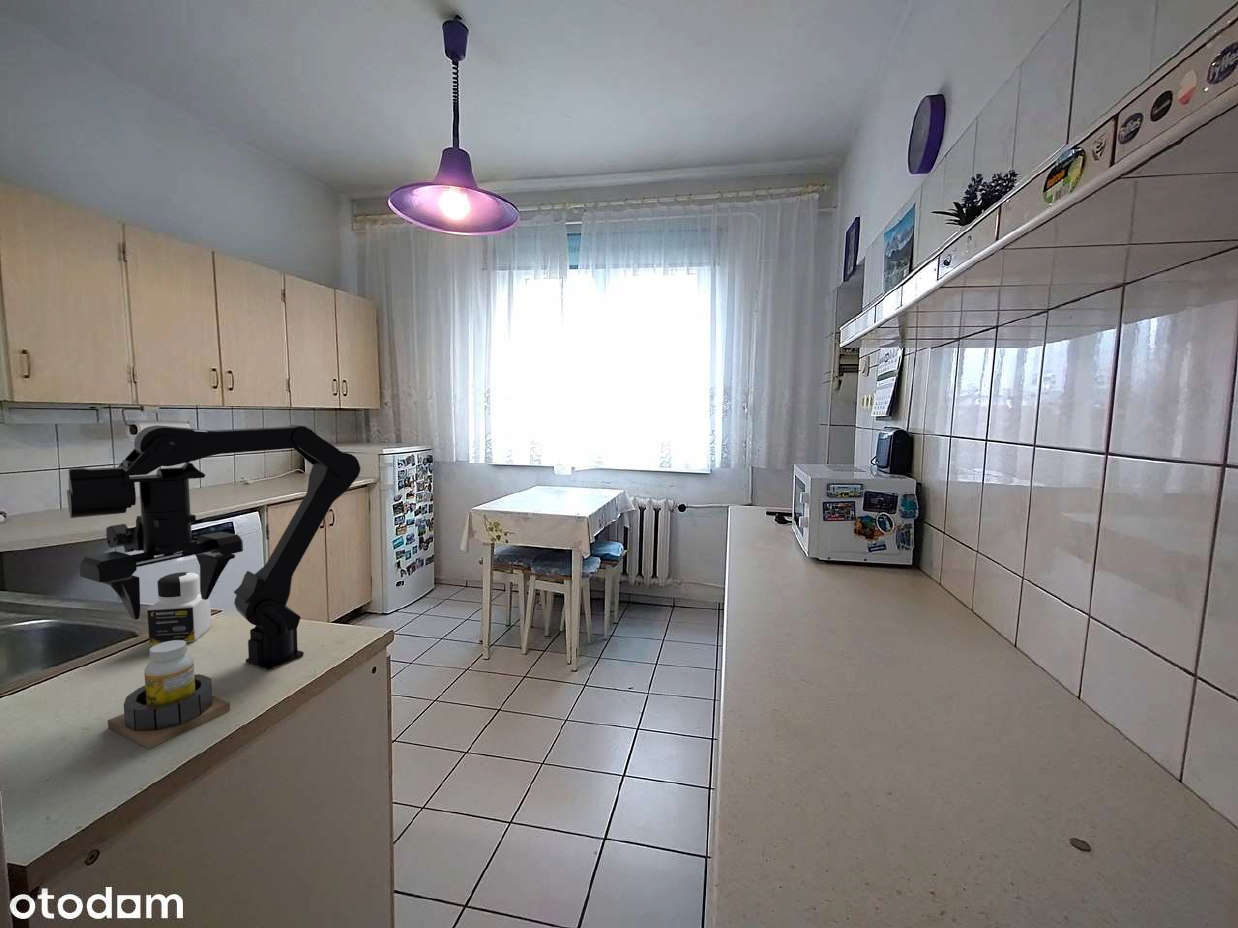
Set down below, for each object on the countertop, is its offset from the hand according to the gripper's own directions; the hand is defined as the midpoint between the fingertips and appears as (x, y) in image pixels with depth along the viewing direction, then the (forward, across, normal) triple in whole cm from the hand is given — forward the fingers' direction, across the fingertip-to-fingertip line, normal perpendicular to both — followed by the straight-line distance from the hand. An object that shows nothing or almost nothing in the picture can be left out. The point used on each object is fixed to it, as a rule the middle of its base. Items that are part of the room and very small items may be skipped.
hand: (171, 608), depth 83 cm
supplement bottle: (+12, +5, +8) cm, 15 cm away
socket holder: (+13, +5, +8) cm, 16 cm away
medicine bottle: (+13, -11, -20) cm, 26 cm away
